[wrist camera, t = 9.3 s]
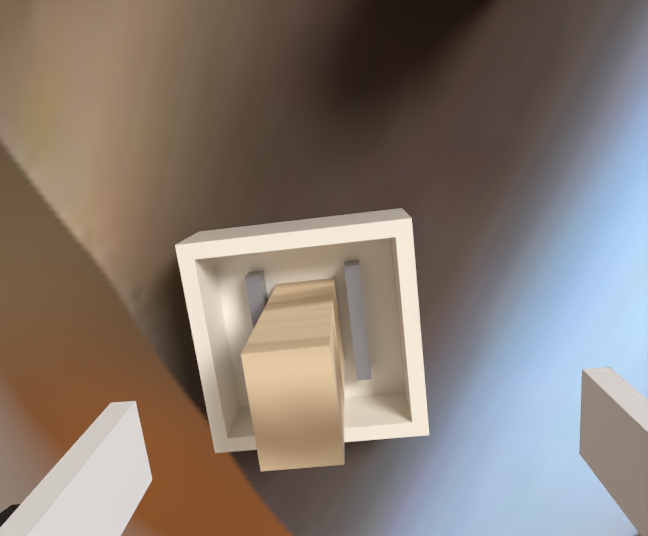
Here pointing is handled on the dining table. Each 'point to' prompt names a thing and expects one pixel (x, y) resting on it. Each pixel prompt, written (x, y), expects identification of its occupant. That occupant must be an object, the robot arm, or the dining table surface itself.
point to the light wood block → (297, 377)
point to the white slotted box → (353, 304)
